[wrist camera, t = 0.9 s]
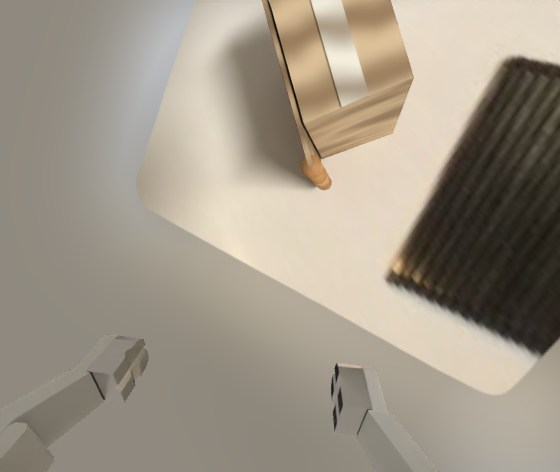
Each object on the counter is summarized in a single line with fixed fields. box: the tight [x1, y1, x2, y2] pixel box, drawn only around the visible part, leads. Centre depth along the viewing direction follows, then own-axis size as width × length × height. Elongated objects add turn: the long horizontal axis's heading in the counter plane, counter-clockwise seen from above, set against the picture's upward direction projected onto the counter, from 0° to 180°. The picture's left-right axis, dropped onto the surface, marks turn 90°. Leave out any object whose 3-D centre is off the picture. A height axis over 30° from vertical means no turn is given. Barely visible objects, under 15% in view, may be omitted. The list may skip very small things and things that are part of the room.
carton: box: [269, 0, 414, 159], centre depth 35 cm, size 18×12×16 cm, turn 16°
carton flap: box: [262, 0, 332, 190], centre depth 37 cm, size 24×2×15 cm, turn 16°
